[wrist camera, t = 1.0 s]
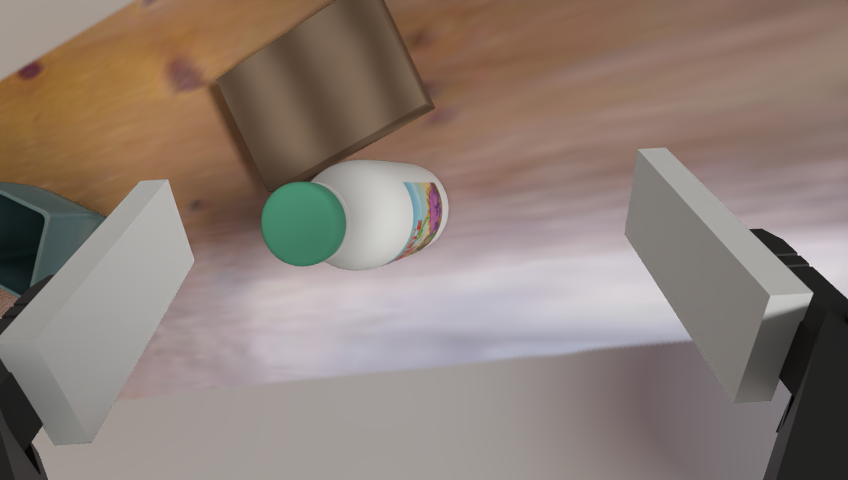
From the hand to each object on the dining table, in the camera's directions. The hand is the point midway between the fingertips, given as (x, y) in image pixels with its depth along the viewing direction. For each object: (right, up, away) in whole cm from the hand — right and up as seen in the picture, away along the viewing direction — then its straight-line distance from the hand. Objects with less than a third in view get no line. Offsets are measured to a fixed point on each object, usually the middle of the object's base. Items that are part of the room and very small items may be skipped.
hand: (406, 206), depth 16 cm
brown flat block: (-8, +12, +34) cm, 37 cm away
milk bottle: (-1, +2, +33) cm, 33 cm away
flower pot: (-35, 0, +43) cm, 55 cm away
